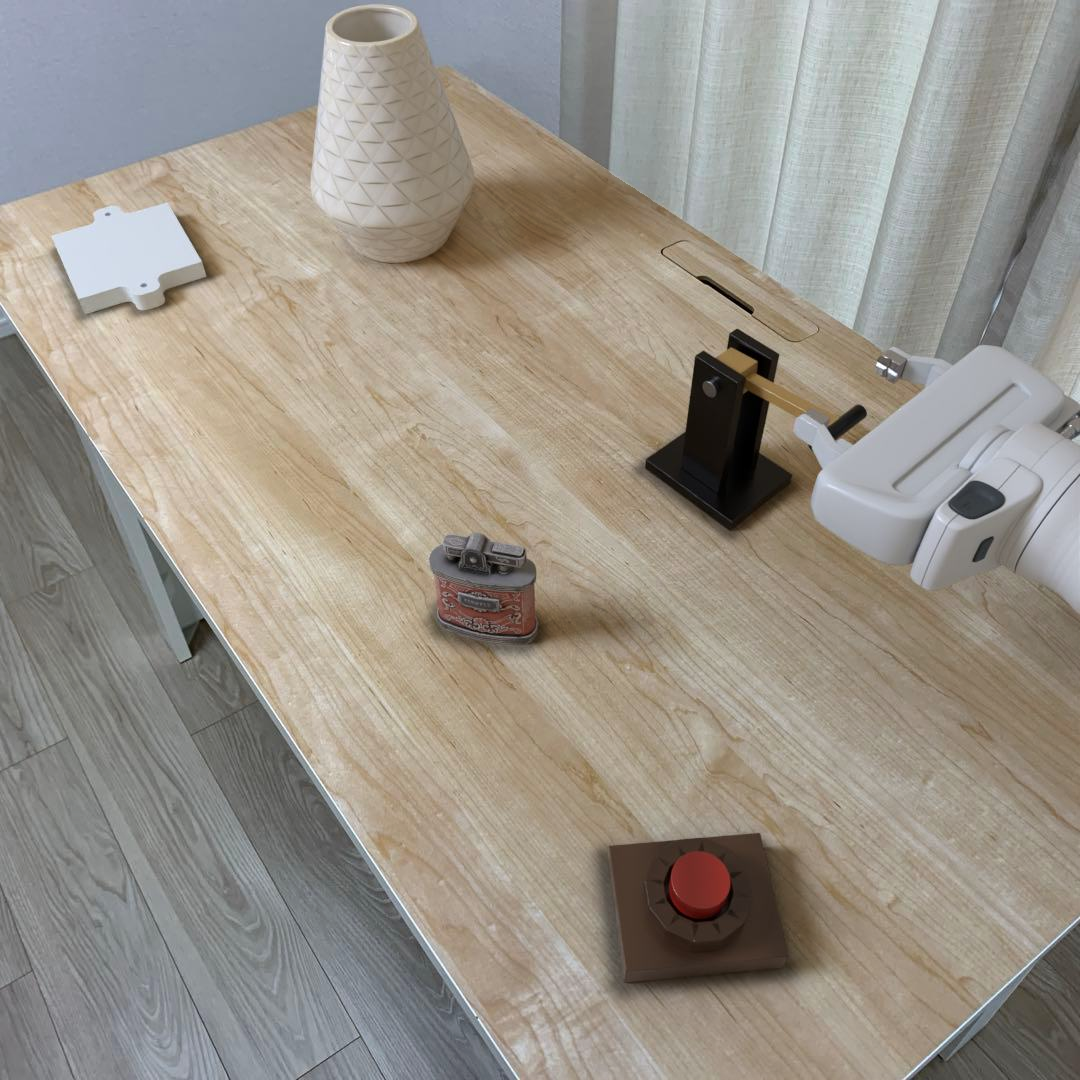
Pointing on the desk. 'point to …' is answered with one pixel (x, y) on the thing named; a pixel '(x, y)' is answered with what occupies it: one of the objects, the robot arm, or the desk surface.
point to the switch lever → (786, 394)
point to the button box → (687, 943)
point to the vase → (386, 138)
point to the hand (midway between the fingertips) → (842, 388)
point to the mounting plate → (128, 257)
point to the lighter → (485, 589)
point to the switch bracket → (723, 440)
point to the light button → (699, 885)
